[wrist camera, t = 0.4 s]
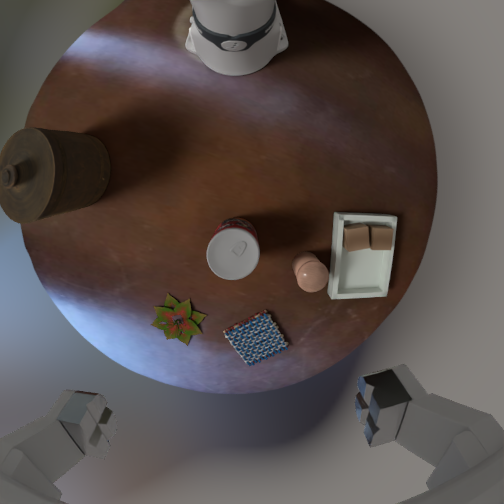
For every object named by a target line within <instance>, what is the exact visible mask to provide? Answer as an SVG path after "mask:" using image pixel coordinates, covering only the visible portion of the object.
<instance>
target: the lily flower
mask: <svg viewBox="0 0 504 504" xmlns="http://www.w3.org/2000/svg"><path fill="white" fill-rule="evenodd" d="M166 298H167V299H166V300H165V304H164V306H165V307H155V306H153V307H154V309H155V311H156V314H157V316H158V318H156V319H155V321H154V322H153V324H151V325H153V326H154V327H157V328H158V329H161V330H164V334H165V336H166V337H167V339H171V338H172V339H174V338H176V337H177V338H178V339H179V340H180V341H181V342H183V343H186V345H187V346H188V343H189V340H190V337H191V335H197V334H199V333H200V334H203V333H201V331H200V330H199V328H198V327H197V324H199V323H200V322H201V321H202V320H203V319H204V317H205V316H207V315H204V314H200V313H199V312H196V311H192V310H191V305H190V299H188V300H186V301H185V302H182V303H180V304H179V302H178V301H176V300H175V299H174V298H173V297H172V296H170V295H169V293H168V294H167V297H166ZM171 302H172V304H173V305H174V306H175V308H174V311H173V310H171V306H172V305H171ZM175 315H181V316H182V318H183V321H184V323H183V324H182V323H181V322H180V320H178V319H177V320H178V321H177V320H176V321H175V320H174V321H175V323H174V322H173V320H172V319H173V318H172V317H171V316H175ZM190 316H191V317H193V318H192V319H191V320H189V319H188V318H189V317H190ZM162 321H163V322H168V323H167V324H165V325H164V324H159V323H160V322H162ZM178 322H179V324H180V323H181V324H180V325H179V324H178ZM176 324H177V325H176ZM181 330H182V332H183V333H181Z"/></svg>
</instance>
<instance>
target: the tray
mask: <svg viewBox="0 0 504 504" xmlns="http://www.w3.org/2000/svg"><path fill="white" fill-rule="evenodd" d="M359 222H360V223H362V224H364V225H366V224H375V225H386V226H388V227H390V228H393V229H394V230H393V239H392V248H391V250H371V249H370V248H368V249H362V250H357V251H352V252H349V251H347V250H346V249H345V248H344V247H342V240H343V227H344V225H346V224H352V223H359ZM396 225H397V217H396V216H393V215H390V214H371V213H347V212H334V221H333V237H332V250H331V262H330V273H329V284H328V294H329V296H330V297H331V299H346V298H366V297H383V296H387V291H388V286H389V280H390V273H391V267H392V260H393V252H394V244H395V235H396Z"/></svg>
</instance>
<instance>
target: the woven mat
mask: <svg viewBox="0 0 504 504" xmlns="http://www.w3.org/2000/svg"><path fill="white" fill-rule="evenodd" d="M266 312H267V311H266V310H265V311H262V312H260V313H259V314H257V313H255V315H254V316H252V317H251V318H250V317H249V318H248V319H246V320H245V321H242V322H241V323H238V324H234V325H235V326H232V327H231V328H228V329H226V330H224V331H223V332H224V333H225V332H226V333H225V335H226V337H225V338H228V339H229V342H230V343H232V344H231V345H233V347H234V348H235V349H236V351H237V350H238V351H237V353H238V352H239V355H240V356H241V357H242V358H243V360H245V363H246V364H248V365H249V366H251V363H252V365H254V362H256V363H257V359H258V361H259V363H260V362H261V361H260V360H261V359H262V360H264V357H265V359H266V360H267V359H268V358H267V355H268V356H269V357H271V355H270V353H271V354H272V356H274V353H273V351H274V352H275V353H276V354H277V351H276V350H278V352H279V353H281V352H280V351H281V350H280V348H281V349H282V350H284V348H283V347H285V349H286V350H288V348H287V345H288V344H289V343H288V342H284V338H283V336H284V335H283V334H279V333H280V332H279V330H277V329H278V328H279V327H278V326H275V325H276V323H275V322H274V323H273V321H272V319H271V318H270V317H271V315H270V314H266ZM263 314H264V316H263ZM256 319H257V320H256ZM265 319H267V320H265ZM252 320H253V321H254V322H252ZM262 320H263V321H262ZM258 322H259V323H258ZM245 323H246V325H245ZM268 323H269V324H268ZM254 324H256V325H254ZM241 325H243V327H242V326H241ZM265 325H266V326H265ZM252 326H253V327H252ZM261 327H262V328H261ZM267 328H268V329H269V330H267ZM235 329H236V330H235ZM244 329H245V330H244ZM258 329H259V330H258ZM231 330H232V331H231ZM254 330H255V331H254ZM263 330H264V331H265V332H264V331H263ZM241 331H242V332H241ZM251 332H252V333H251ZM260 332H261V333H260ZM234 334H235V335H234ZM248 334H249V335H248ZM257 334H258V335H257ZM266 335H267V336H266ZM276 335H277V336H276ZM254 336H255V337H254ZM263 337H264V338H263ZM272 337H273V338H272ZM259 338H261V339H259ZM268 338H270V339H268ZM247 339H248V340H247ZM278 339H279V340H278ZM256 340H257V341H256ZM265 340H266V341H265ZM261 341H263V342H261ZM275 341H276V342H275ZM240 342H241V343H240ZM249 343H250V344H249ZM258 343H259V344H258ZM281 343H282V344H281ZM268 344H269V345H268ZM256 345H257V346H256ZM274 346H275V347H274ZM270 347H271V348H272V349H271V348H270ZM249 348H250V349H249ZM267 348H268V350H267ZM258 349H259V350H258ZM263 350H264V351H263ZM260 352H261V353H260ZM263 356H264V357H263ZM251 357H252V358H251ZM247 358H248V359H247ZM260 358H261V359H260ZM250 362H251V363H250Z"/></svg>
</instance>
